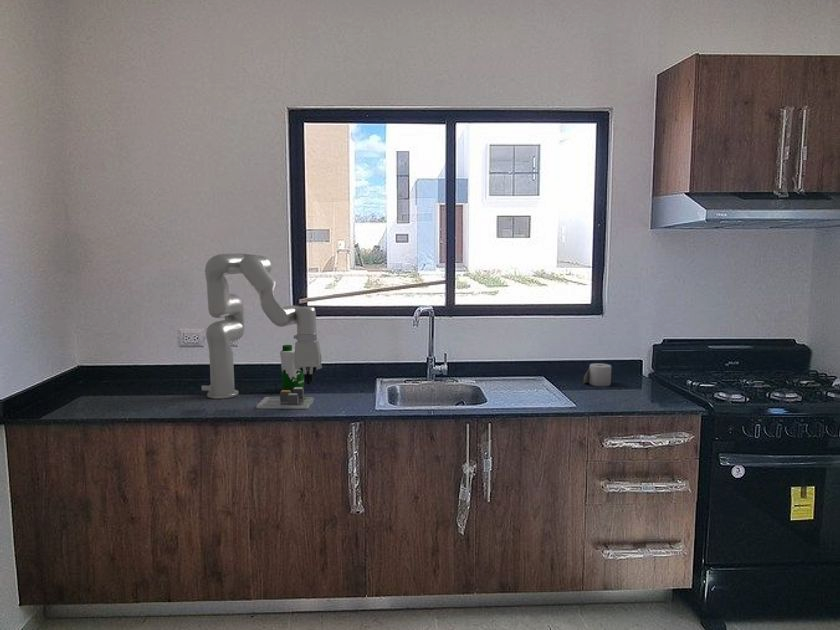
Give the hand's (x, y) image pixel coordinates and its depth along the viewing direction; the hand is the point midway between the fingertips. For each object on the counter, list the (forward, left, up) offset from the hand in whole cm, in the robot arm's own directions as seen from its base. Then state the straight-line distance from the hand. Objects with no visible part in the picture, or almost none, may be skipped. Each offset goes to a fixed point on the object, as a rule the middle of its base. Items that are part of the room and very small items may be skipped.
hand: (309, 383), depth 249 cm
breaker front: (-6, -5, -7) cm, 10 cm away
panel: (-10, 0, -9) cm, 13 cm away
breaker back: (-6, +5, -7) cm, 10 cm away
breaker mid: (-10, 0, -7) cm, 12 cm away
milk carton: (-12, +22, -9) cm, 26 cm away
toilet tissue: (+124, +38, -9) cm, 130 cm away
